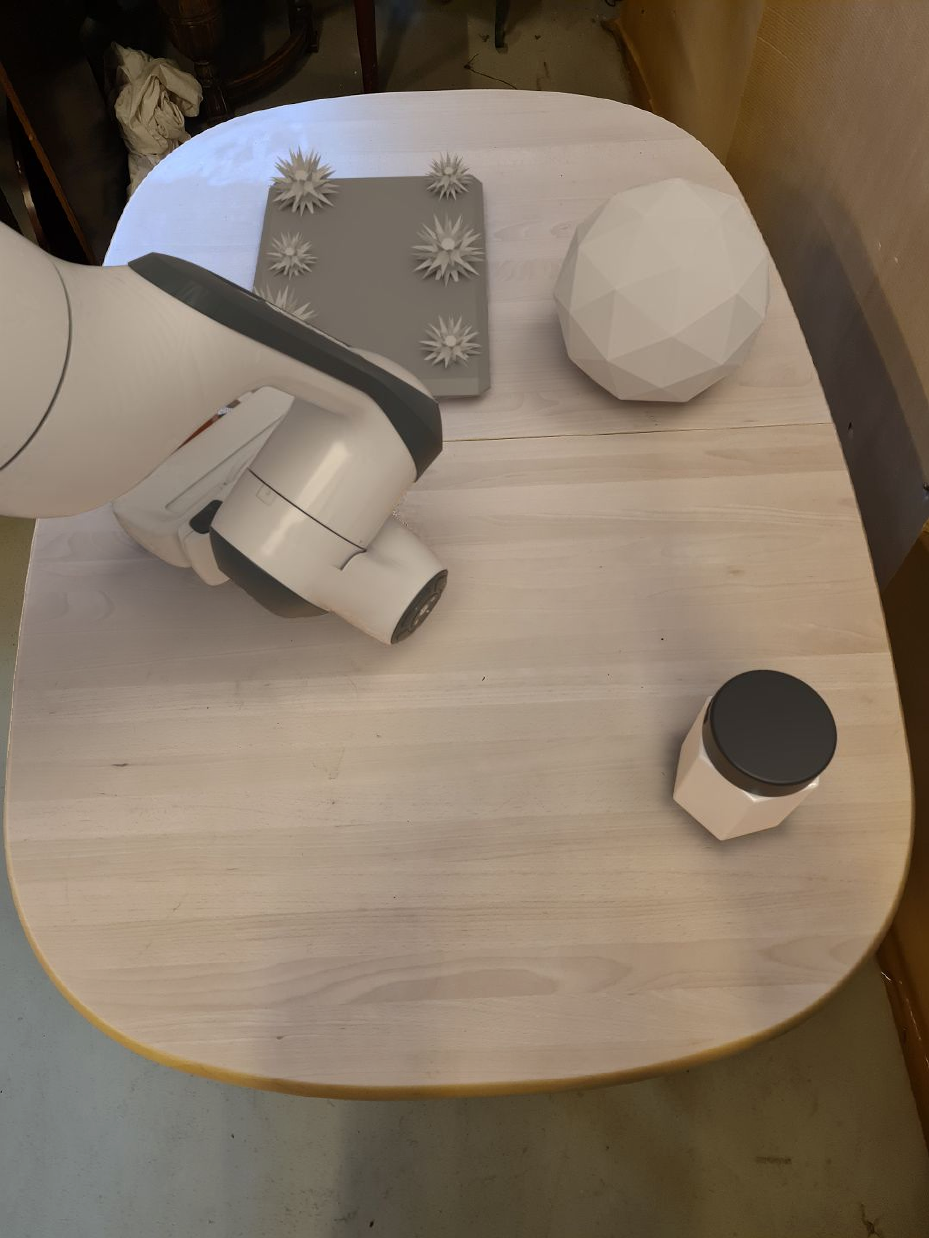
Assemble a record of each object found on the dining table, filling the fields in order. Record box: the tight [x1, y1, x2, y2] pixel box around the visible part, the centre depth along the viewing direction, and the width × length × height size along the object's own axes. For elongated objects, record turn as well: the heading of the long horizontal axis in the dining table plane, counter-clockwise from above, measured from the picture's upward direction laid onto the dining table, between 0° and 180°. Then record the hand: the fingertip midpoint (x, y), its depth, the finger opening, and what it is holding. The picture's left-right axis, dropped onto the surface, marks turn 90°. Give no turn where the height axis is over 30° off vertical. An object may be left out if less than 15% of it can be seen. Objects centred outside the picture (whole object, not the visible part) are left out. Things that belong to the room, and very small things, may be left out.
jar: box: [672, 669, 838, 842], centre depth 60 cm, size 9×8×12 cm
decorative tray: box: [250, 146, 491, 399], centre depth 90 cm, size 35×26×10 cm
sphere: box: [551, 176, 771, 403], centre depth 79 cm, size 19×20×20 cm
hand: (173, 416), depth 74 cm, fingers closed on pot, 6 cm apart
